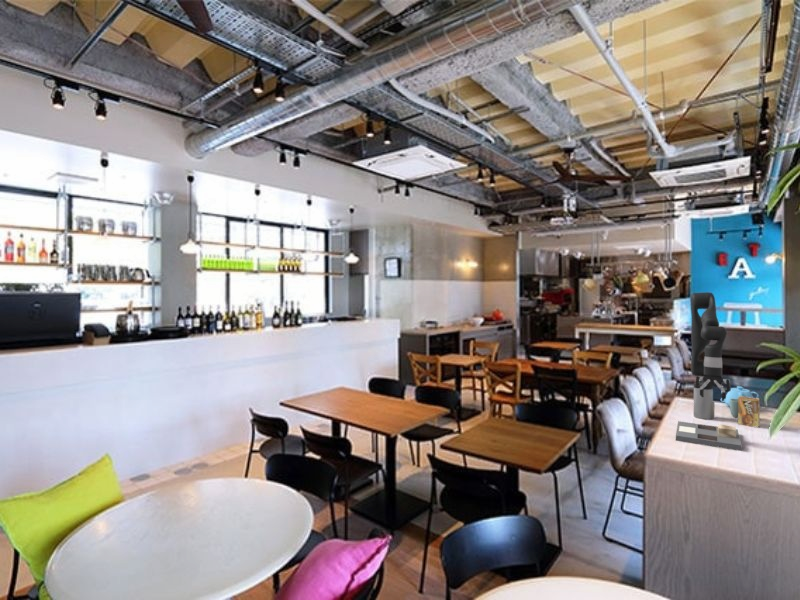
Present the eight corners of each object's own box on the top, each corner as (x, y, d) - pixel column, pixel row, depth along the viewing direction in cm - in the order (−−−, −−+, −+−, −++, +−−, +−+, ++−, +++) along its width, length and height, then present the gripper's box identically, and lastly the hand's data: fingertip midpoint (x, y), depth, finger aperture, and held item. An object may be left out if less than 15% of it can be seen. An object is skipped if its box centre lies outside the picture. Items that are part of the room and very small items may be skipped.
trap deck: (737, 434, 227) (737, 429, 227) (741, 450, 204) (741, 445, 204) (678, 425, 242) (678, 421, 242) (675, 440, 219) (675, 435, 219)
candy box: (759, 426, 240) (759, 398, 239) (758, 427, 237) (758, 399, 236) (739, 422, 246) (739, 395, 246) (737, 424, 243) (738, 396, 243)
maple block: (735, 434, 219) (735, 426, 219) (736, 438, 213) (736, 430, 213) (717, 432, 223) (717, 424, 223) (718, 435, 217) (718, 427, 217)
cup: (731, 418, 254) (731, 401, 254) (728, 414, 261) (728, 398, 261) (748, 419, 251) (748, 402, 251) (745, 416, 258) (745, 399, 258)
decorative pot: (763, 411, 268) (763, 389, 267) (738, 412, 267) (738, 389, 266) (741, 404, 284) (741, 383, 284) (717, 405, 283) (717, 384, 283)
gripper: (732, 367, 218) (731, 399, 217) (698, 364, 228) (697, 395, 228) (729, 368, 213) (728, 401, 212) (694, 364, 223) (694, 396, 222)
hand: (712, 398), depth 220 cm, fingers open, 8 cm apart
